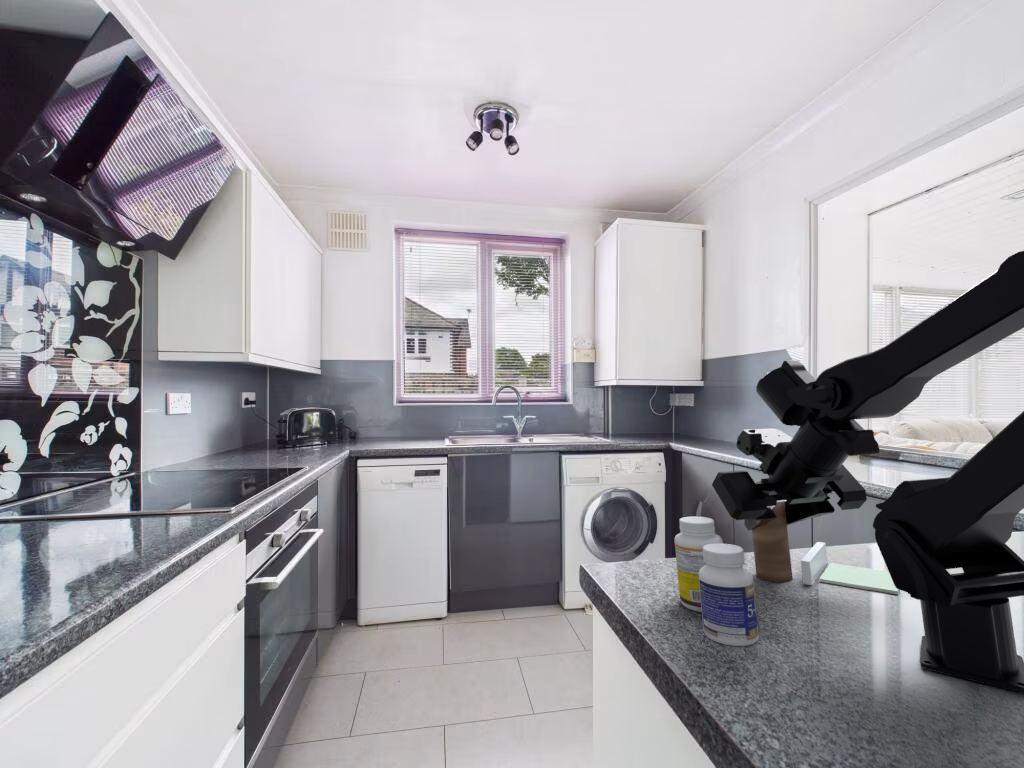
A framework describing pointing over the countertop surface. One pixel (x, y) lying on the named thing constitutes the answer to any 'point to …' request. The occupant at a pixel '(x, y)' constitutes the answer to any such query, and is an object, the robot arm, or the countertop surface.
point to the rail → (814, 563)
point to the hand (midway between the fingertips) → (762, 526)
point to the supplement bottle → (692, 557)
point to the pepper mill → (773, 548)
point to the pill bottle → (727, 596)
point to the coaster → (859, 578)
